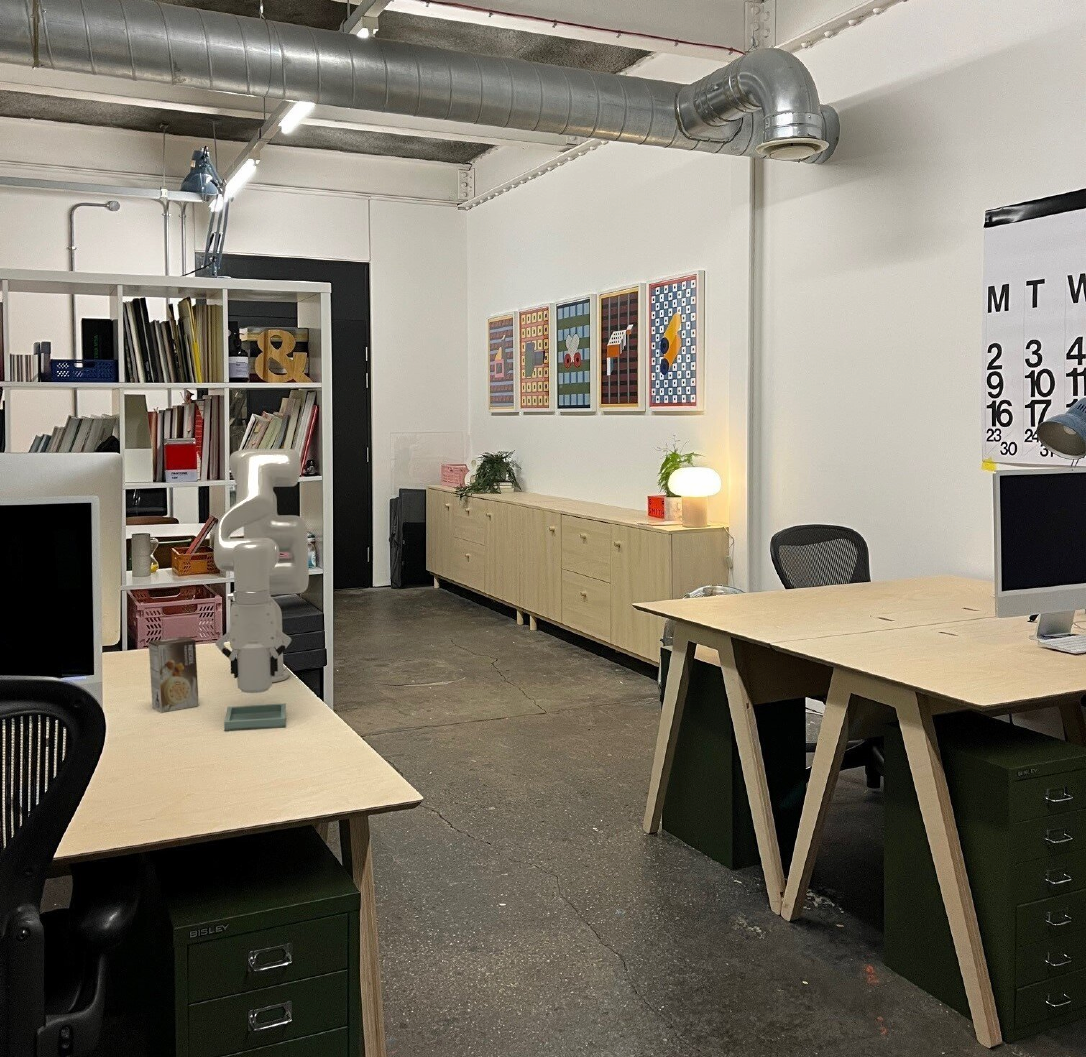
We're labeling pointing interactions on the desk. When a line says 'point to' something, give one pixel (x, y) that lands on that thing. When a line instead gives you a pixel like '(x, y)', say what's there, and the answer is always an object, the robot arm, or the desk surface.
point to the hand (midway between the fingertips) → (254, 675)
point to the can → (254, 668)
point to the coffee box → (173, 674)
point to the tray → (255, 717)
